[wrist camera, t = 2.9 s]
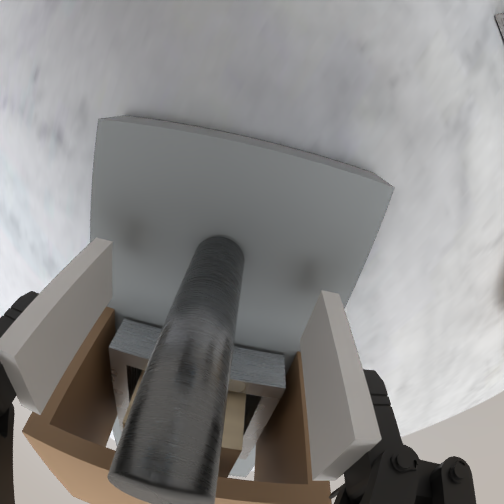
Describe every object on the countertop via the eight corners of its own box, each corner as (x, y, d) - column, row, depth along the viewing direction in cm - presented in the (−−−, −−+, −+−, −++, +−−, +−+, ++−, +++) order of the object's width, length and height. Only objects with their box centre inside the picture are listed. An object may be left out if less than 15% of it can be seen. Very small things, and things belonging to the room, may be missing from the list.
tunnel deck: (124, 115, 15) (-75, 168, 4) (374, 173, 16) (531, 309, 5) (124, 427, 29) (94, 520, 17) (247, 454, 29) (241, 553, 18)
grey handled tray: (127, 215, 14) (-31, 391, 4) (323, 260, 15) (384, 493, 5) (129, 406, 21) (90, 526, 11) (247, 433, 22) (239, 559, 12)
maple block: (152, 344, 18) (122, 422, 13) (248, 366, 18) (242, 450, 13) (151, 397, 21) (130, 464, 15) (230, 415, 21) (222, 485, 16)
